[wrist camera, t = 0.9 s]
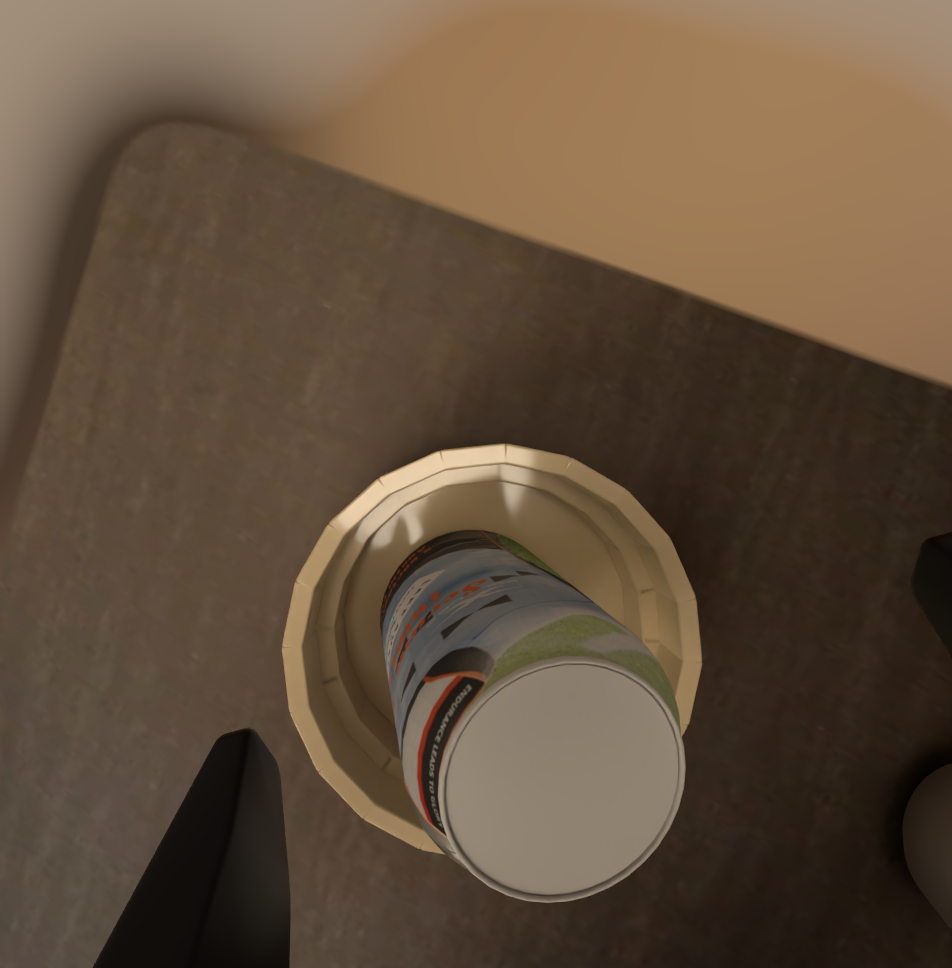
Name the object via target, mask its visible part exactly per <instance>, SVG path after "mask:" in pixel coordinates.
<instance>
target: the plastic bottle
mask: <svg viewBox="0 0 952 968" xmlns="http://www.w3.org/2000/svg"><path fill="white" fill-rule="evenodd" d="M902 831H903V845H904V855H905V859H906V862H907V866H908V870H909V872H910V874H911V876H912V878H913V880H914V882H915V884H916V885H917V886H918V888H919V889H920V890H921V892H922V893H923V894H924V896H925V897H926V898H927V899H928V901H929V902H930V903H931V905H932V906H933V907H934V908H935V910H936V911H937V912H938V914H939V915H940V916H941V917H942V919H943V920H944V921H945V922H946V924H947V925H948V926H949V927H950V928H951V929H952V763H950V764H947V765H945V766H943V767H941V768H939V769H937V770H935V771H933V772H932V773H931V774H930V775H928V776H927V777H926V778H925V779H924V780H923V781H922V782H921V783H920V784H919V785H918V787H917V788H916V789H915V790H914V792H913V794H912V796H911V797H910V799H909V801H908V804H907V807H906V810H905V813H904V818H903V826H902Z"/></svg>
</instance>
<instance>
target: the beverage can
mask: <svg viewBox="0 0 952 968" xmlns="http://www.w3.org/2000/svg"><path fill="white" fill-rule="evenodd" d="M380 628H381V636H382V642H383V649H384V655H385V662H386V668H387V675H388V681H389V687H390V694H391V700H392V707H393V713H394V719H395V726H396V732H397V739H398V745H399V752H400V758H401V764H402V771H403V777H404V784H405V788H406V791H407V794H408V797H409V800H410V803H411V806H412V809H413V811H414V813H415V815H416V817H417V818H418V820H419V822H420V823H421V825H422V827H423V829H424V830H425V832H426V834H427V835H428V836H429V837H430V838H431V839H432V840H433V842H434V843H435V844H436V845H437V846H438V847H439V848H440V850H441V851H442V852H443V853H444V854H446V855H447V856H448V857H450V858H451V859H452V860H454V861H455V862H456V863H458V864H459V865H460V866H462V867H463V868H465V869H467V870H469V871H470V872H471V873H472V874H473V875H475V876H476V877H477V878H479V879H480V880H481V881H482V882H484V883H485V884H486V885H488V886H489V887H491V888H493V889H495V890H497V891H499V892H501V893H503V894H505V895H508V896H511V897H515V898H518V899H522V900H526V901H534V902H545V903H551V902H564V901H571V900H575V899H579V898H583V897H587V896H590V895H593V894H595V893H598V892H600V891H602V890H605V889H607V888H609V887H611V886H613V885H614V884H616V883H617V882H619V881H621V880H622V879H624V878H625V877H627V876H628V875H630V874H631V873H632V872H633V871H634V870H635V869H637V868H638V867H639V866H640V865H641V864H642V863H644V862H645V861H646V859H647V858H648V857H649V856H650V855H651V854H652V853H653V851H654V850H655V849H656V848H657V847H658V846H659V844H660V842H661V841H662V839H663V838H664V836H665V835H666V833H667V831H668V830H669V828H670V826H671V824H672V822H673V820H674V817H675V815H676V813H677V810H678V808H679V804H680V800H681V797H682V793H683V789H684V780H685V769H686V764H685V752H684V745H683V741H682V737H681V728H680V716H679V710H678V707H677V703H676V699H675V695H674V692H673V688H672V686H671V684H670V682H669V680H668V678H667V676H666V674H665V672H664V669H663V667H662V666H661V664H660V663H659V662H658V660H657V659H656V658H655V656H654V655H653V654H652V652H651V651H650V649H649V648H648V647H647V646H646V645H645V644H644V643H643V642H642V641H641V640H640V639H638V638H637V637H636V636H635V635H634V634H633V633H632V632H631V631H630V630H628V629H627V628H626V627H625V626H623V625H622V624H621V623H620V622H618V621H617V620H616V619H615V618H613V617H612V616H611V615H609V614H608V613H607V612H606V611H604V610H603V609H602V608H601V607H599V606H598V605H597V604H596V603H594V602H593V601H592V600H591V599H589V598H588V597H587V596H585V595H584V594H583V593H582V592H580V591H579V590H578V589H577V588H575V587H574V586H573V585H572V584H570V583H569V582H568V581H566V580H565V579H564V578H563V577H561V576H560V575H559V574H558V573H556V572H555V571H554V570H553V569H551V568H550V567H549V566H548V565H546V564H545V563H544V562H542V561H541V560H540V559H539V558H537V557H536V556H535V555H534V554H532V553H531V552H530V551H529V550H527V549H526V548H525V547H523V546H522V545H520V544H519V543H517V542H516V541H514V540H512V539H511V538H508V537H506V536H503V535H501V534H498V533H494V532H489V531H484V530H462V531H455V532H450V533H447V534H444V535H441V536H438V537H436V538H434V539H432V540H430V541H428V542H426V543H424V544H423V545H421V546H420V547H419V548H417V549H416V550H415V551H413V552H412V553H411V554H410V555H409V556H408V557H407V558H406V559H405V560H404V561H403V562H402V563H401V564H400V566H399V567H398V568H397V570H396V572H395V573H394V575H393V576H392V578H391V579H390V582H389V584H388V586H387V589H386V591H385V594H384V597H383V602H382V606H381V614H380Z"/></svg>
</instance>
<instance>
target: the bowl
mask: <svg viewBox="0 0 952 968" xmlns="http://www.w3.org/2000/svg"><path fill="white" fill-rule="evenodd" d="M462 530H484V531H489V532H494V533H498V534H501V535H503V536H506V537H508V538H511V539H512V540H514V541H516V542H517V543H519V544H520V545H522V546H523V547H525V548H526V549H527V550H529V551H530V552H531V553H532V554H534V555H535V556H536V557H537V558H539V559H540V560H541V561H542V562H544V563H545V564H546V565H548V566H549V567H550V568H551V569H553V570H554V571H555V572H556V573H558V574H559V575H560V576H561V577H563V578H564V579H565V580H566V581H568V582H569V583H570V584H572V585H573V586H574V587H575V588H577V589H578V590H579V591H580V592H582V593H583V594H584V595H585V596H587V597H588V598H589V599H591V600H592V601H593V602H594V603H596V604H597V605H598V606H599V607H601V608H602V609H603V610H604V611H606V612H607V613H608V614H609V615H611V616H612V617H613V618H615V619H616V620H617V621H618V622H620V623H621V624H622V625H623V626H625V627H626V628H627V629H628V630H630V631H631V632H632V633H633V634H634V635H635V636H636V637H637V638H638V639H640V640H641V641H642V642H643V643H644V644H645V645H646V646H647V647H648V648H649V649H650V651H651V652H652V654H653V655H654V656H655V658H656V659H657V660H658V662H659V663H660V664H661V666H662V667H663V669H664V672H665V674H666V676H667V678H668V680H669V682H670V684H671V686H672V688H673V692H674V695H675V699H676V703H677V707H678V710H679V716H680V728H681V737H682V736H683V734H684V732H685V730H686V729H687V726H688V725H689V722H690V718H691V713H692V708H693V704H694V699H695V695H696V690H697V686H698V681H699V677H700V672H701V667H702V662H701V661H702V652H701V642H700V631H699V621H698V610H697V600H696V598H695V597H696V596H695V593H694V591H693V589H692V586H691V584H690V582H689V579H688V577H687V575H686V572H685V570H684V568H683V566H682V563H681V561H680V559H679V556H678V554H677V552H676V549H675V547H674V545H673V543H672V540H671V539H670V537H669V536H668V535H667V533H666V532H665V531H664V530H663V529H662V528H661V527H660V526H659V524H658V523H657V522H656V521H655V520H654V519H653V518H652V517H651V515H650V514H649V513H648V512H647V511H646V510H645V509H644V508H643V506H642V505H641V504H640V503H639V502H638V501H637V500H636V499H635V498H634V496H633V495H632V494H631V493H630V492H629V491H628V490H626V489H625V488H624V487H622V486H620V485H619V484H617V483H615V482H613V481H612V480H610V479H608V478H607V477H605V476H603V475H601V474H600V473H598V472H596V471H595V470H593V469H591V468H589V467H588V466H586V465H584V464H582V463H581V462H579V461H577V460H576V459H574V458H570V457H569V456H565V455H561V454H556V453H551V452H546V451H542V450H537V449H532V448H528V447H523V446H518V445H513V444H509V443H508V444H505V443H500V444H491V445H482V446H472V447H463V448H454V449H444V450H440V451H436V452H434V453H432V454H429V455H427V456H425V457H423V458H421V459H418V460H416V461H414V462H412V463H409V464H407V465H405V466H403V467H400V468H398V469H396V470H394V471H392V472H389V473H387V474H385V475H383V476H380V477H379V478H378V479H376V480H375V481H374V482H373V483H372V484H370V485H369V486H368V487H367V488H366V489H365V490H364V491H363V492H362V493H360V494H359V495H358V496H357V497H356V498H355V499H354V500H353V501H352V502H351V503H349V504H348V505H347V506H346V507H345V508H344V509H343V510H342V511H341V512H339V513H338V514H337V515H336V516H335V517H334V518H333V519H332V520H331V521H330V522H329V524H328V525H327V526H326V528H325V529H324V531H323V533H322V535H321V536H320V538H319V540H318V542H317V543H316V545H315V547H314V548H313V550H312V552H311V554H310V555H309V557H308V559H307V561H306V562H305V564H304V566H303V568H302V569H301V571H300V573H299V575H298V576H297V578H296V582H295V583H294V588H293V593H292V598H291V603H290V608H289V613H288V618H287V623H286V627H285V632H284V637H283V642H282V645H283V647H282V655H283V663H284V671H285V680H286V688H287V696H288V705H289V711H290V715H291V717H292V719H293V721H294V723H295V725H296V727H297V729H298V732H299V734H300V736H301V738H302V740H303V742H304V744H305V746H306V749H307V751H308V753H309V755H310V757H311V759H312V761H313V763H314V765H315V768H316V770H317V771H318V772H319V774H320V775H321V776H322V777H323V778H324V779H325V780H326V781H327V782H328V783H329V784H330V785H331V786H332V787H333V788H334V789H335V791H336V792H337V793H338V794H339V795H340V796H341V797H342V798H343V799H344V800H345V801H346V802H347V803H348V804H349V805H350V806H351V807H352V808H353V809H354V810H355V812H356V813H357V814H358V815H359V816H360V817H361V818H364V820H366V821H368V822H369V823H371V824H373V825H375V826H377V827H379V828H381V829H382V830H384V831H386V832H388V833H390V834H392V835H394V836H396V837H397V838H399V839H401V840H403V841H405V842H407V843H409V844H411V845H412V846H414V847H416V848H418V849H420V848H421V849H422V850H424V851H430V852H435V853H441V854H444V853H443V852H442V851H441V850H440V848H439V847H438V846H437V845H436V844H435V843H434V842H433V840H432V839H431V838H430V837H429V836H428V835H427V834H426V832H425V830H424V829H423V827H422V825H421V823H420V822H419V820H418V818H417V817H416V815H415V813H414V811H413V809H412V806H411V803H410V800H409V797H408V794H407V791H406V788H405V784H404V777H403V771H402V764H401V758H400V752H399V745H398V739H397V732H396V726H395V719H394V713H393V707H392V700H391V694H390V687H389V681H388V675H387V668H386V662H385V655H384V649H383V642H382V636H381V628H380V614H381V606H382V602H383V597H384V594H385V591H386V589H387V586H388V584H389V582H390V579H391V578H392V576H393V575H394V573H395V572H396V570H397V568H398V567H399V566H400V564H401V563H402V562H403V561H404V560H405V559H406V558H407V557H408V556H409V555H410V554H411V553H412V552H413V551H415V550H416V549H417V548H419V547H420V546H421V545H423V544H424V543H426V542H428V541H430V540H432V539H434V538H436V537H438V536H441V535H444V534H447V533H450V532H455V531H462Z"/></svg>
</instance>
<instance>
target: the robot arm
mask: <svg viewBox="0 0 952 968" xmlns="http://www.w3.org/2000/svg"><path fill="white" fill-rule="evenodd" d="M911 589H912V593H913V595H914V597H915V599H916V601H917V603H918V604H919V606H920V607H921V609H922V611H923V612H924V614H925V615H926V617H927V618H928V620H929V622H930V623H931V625H932V626H933V628H934V630H935V631H936V633H937V634H938V636H939V638H940V639H941V641H942V642H943V644H944V645H945V647H946V649H947V650H948V652H949V653H950V655H951V657H952V532H950V533H946V534H943V535H939V536H935V537H932V538H929V539H926V540H925V541H924V542H923V543H922V545H921V547H920V551H919V554H918V557H917V561H916V564H915V567H914V570H913V574H912V577H911ZM289 955H290V885H289V871H288V860H287V849H286V837H285V826H284V814H283V803H282V791H281V780H280V773H279V768H278V765H277V762H276V760H275V758H274V757H273V755H272V754H271V752H270V751H269V749H268V748H267V747H266V745H265V744H264V742H263V741H262V739H261V738H260V736H259V735H258V734H257V732H256V731H255V730H254V729H251V728H245V729H241V730H237V731H234V732H230V733H227V734H224V735H222V736H221V737H219V738H218V739H217V741H216V742H215V744H214V745H213V747H212V749H211V751H210V753H209V755H208V756H207V758H206V760H205V762H204V764H203V766H202V767H201V769H200V771H199V773H198V775H197V777H196V778H195V780H194V782H193V784H192V786H191V788H190V789H189V791H188V793H187V795H186V797H185V799H184V801H183V802H182V804H181V806H180V808H179V810H178V812H177V813H176V815H175V817H174V819H173V821H172V823H171V824H170V826H169V828H168V830H167V832H166V834H165V835H164V837H163V839H162V841H161V843H160V845H159V847H158V848H157V850H156V852H155V854H154V856H153V858H152V859H151V861H150V863H149V865H148V867H147V869H146V870H145V872H144V874H143V876H142V878H141V880H140V881H139V883H138V885H137V887H136V889H135V891H134V892H133V894H132V896H131V898H130V900H129V902H128V904H127V905H126V907H125V909H124V911H123V913H122V915H121V916H120V918H119V920H118V922H117V924H116V926H115V927H114V929H113V931H112V933H111V935H110V937H109V938H108V940H107V942H106V944H105V946H104V948H103V950H102V951H101V953H100V955H99V957H98V959H97V961H96V962H95V964H94V966H93V968H289Z"/></svg>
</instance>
